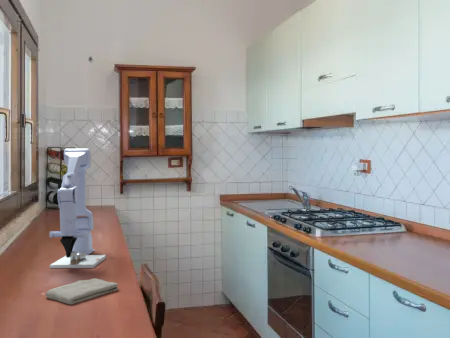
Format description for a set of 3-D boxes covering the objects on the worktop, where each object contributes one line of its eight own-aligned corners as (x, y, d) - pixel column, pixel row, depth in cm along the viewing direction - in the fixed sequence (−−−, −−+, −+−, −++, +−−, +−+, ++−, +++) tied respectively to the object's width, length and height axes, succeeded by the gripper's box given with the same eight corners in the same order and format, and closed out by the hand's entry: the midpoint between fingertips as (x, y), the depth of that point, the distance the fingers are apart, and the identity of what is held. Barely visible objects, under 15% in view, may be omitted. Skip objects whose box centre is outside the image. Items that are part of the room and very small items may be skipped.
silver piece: (74, 257, 178) (74, 246, 178) (87, 257, 178) (87, 246, 178) (65, 264, 167) (65, 252, 167) (79, 263, 167) (79, 252, 167)
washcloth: (121, 290, 140) (120, 280, 140) (70, 307, 125) (70, 296, 125) (95, 285, 147) (95, 275, 147) (45, 300, 132) (44, 289, 132)
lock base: (66, 258, 184) (66, 255, 184) (106, 257, 183) (105, 254, 183) (49, 268, 168) (49, 264, 168) (93, 267, 167) (93, 264, 167)
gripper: (44, 221, 166) (45, 258, 166) (80, 221, 163) (81, 260, 163) (55, 218, 173) (55, 254, 173) (90, 219, 170) (91, 255, 170)
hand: (69, 257), depth 169 cm, fingers closed
